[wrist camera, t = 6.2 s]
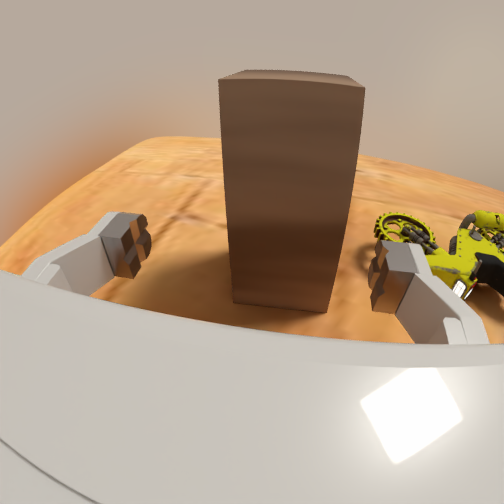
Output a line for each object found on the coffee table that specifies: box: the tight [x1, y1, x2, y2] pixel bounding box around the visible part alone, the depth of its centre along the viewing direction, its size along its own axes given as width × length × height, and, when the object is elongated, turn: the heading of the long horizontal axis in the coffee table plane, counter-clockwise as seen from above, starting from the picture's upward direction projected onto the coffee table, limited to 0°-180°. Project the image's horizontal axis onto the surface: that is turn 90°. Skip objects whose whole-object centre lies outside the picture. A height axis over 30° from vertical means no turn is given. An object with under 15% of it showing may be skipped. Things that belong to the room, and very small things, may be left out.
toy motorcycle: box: [374, 210, 504, 300], centre depth 14 cm, size 12×4×7 cm
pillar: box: [218, 70, 365, 313], centre depth 13 cm, size 4×4×10 cm
